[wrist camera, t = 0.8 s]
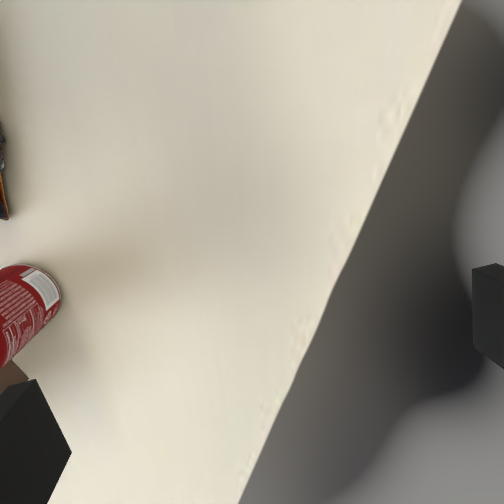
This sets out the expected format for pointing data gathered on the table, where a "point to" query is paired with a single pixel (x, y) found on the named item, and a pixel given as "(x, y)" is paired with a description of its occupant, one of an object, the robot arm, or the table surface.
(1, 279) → the soda can
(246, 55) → the table surface
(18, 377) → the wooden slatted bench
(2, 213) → the mechanical keyboard
